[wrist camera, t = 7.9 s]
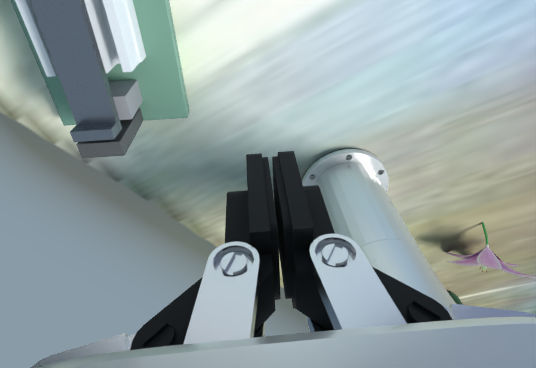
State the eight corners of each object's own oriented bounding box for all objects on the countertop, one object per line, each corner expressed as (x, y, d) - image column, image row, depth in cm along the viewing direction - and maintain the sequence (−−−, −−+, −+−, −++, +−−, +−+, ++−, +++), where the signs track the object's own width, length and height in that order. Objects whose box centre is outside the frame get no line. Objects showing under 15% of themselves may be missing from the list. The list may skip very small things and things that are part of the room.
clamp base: (189, 110, 41) (177, 152, 33) (71, 118, 40) (28, 162, 32) (143, -139, 28) (104, -173, 20) (-31, -133, 27) (-145, -165, 19)
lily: (424, 228, 57) (439, 287, 53) (502, 208, 49) (527, 275, 45) (453, 238, 65) (468, 290, 61) (525, 221, 57) (548, 280, 53)
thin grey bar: (127, 126, 33) (118, 139, 31) (81, 129, 33) (69, 142, 31) (49, -144, 23) (27, -157, 20) (-18, -142, 22) (-50, -155, 20)
